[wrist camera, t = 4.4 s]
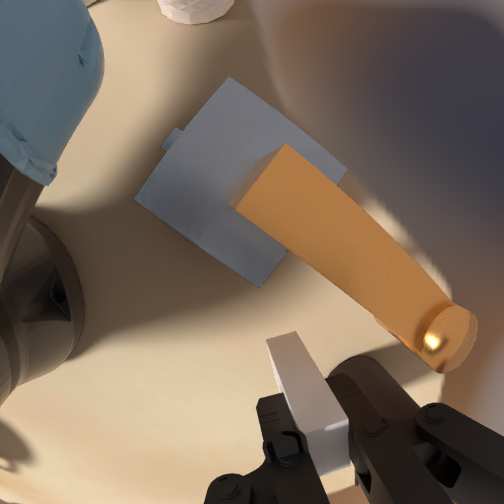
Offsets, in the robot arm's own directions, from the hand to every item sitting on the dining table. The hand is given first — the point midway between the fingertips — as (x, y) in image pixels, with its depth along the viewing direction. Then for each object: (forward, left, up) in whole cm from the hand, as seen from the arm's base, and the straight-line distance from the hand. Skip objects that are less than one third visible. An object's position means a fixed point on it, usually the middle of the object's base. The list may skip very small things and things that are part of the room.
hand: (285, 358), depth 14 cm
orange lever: (+6, +4, -8) cm, 10 cm away
